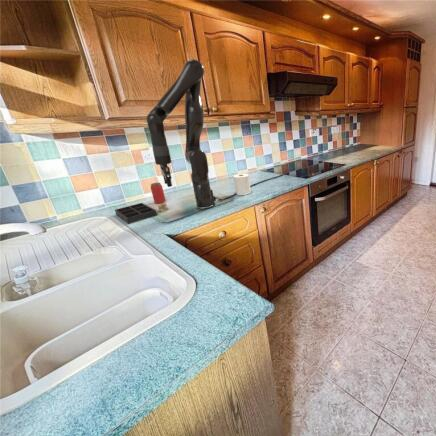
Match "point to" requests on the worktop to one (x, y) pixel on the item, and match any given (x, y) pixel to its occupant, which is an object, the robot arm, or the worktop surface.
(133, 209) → the grid
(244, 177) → the toilet paper
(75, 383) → the worktop surface
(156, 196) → the beer can
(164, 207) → the token
